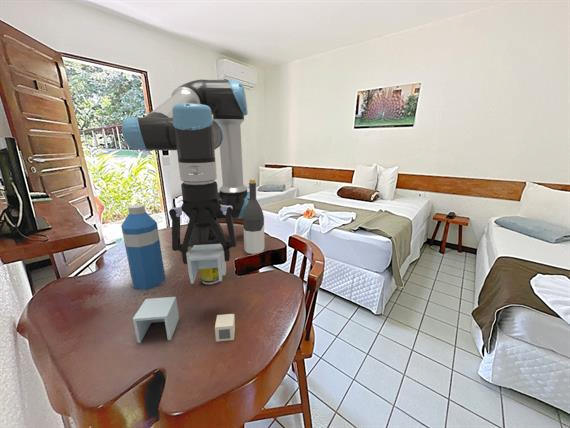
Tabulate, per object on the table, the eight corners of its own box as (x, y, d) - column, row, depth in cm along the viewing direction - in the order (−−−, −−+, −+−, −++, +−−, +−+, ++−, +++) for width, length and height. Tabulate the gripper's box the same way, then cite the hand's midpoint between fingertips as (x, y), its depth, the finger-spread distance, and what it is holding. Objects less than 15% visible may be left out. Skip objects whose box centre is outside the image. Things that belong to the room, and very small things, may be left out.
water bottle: (171, 277, 80) (161, 204, 73) (145, 293, 72) (131, 212, 65) (152, 271, 84) (140, 201, 77) (125, 285, 76) (109, 208, 69)
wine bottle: (245, 248, 102) (242, 177, 94) (265, 248, 102) (263, 177, 94) (243, 257, 94) (239, 180, 86) (264, 257, 95) (262, 180, 86)
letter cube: (218, 329, 59) (217, 315, 58) (235, 327, 59) (234, 313, 58) (215, 342, 55) (214, 327, 54) (234, 340, 55) (233, 326, 54)
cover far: (196, 268, 63) (193, 245, 61) (224, 266, 64) (222, 243, 62) (190, 283, 56) (187, 258, 54) (221, 281, 57) (219, 256, 55)
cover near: (149, 321, 61) (145, 298, 59) (179, 318, 62) (176, 296, 60) (137, 343, 54) (132, 318, 52) (170, 340, 55) (166, 316, 53)
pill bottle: (215, 286, 76) (213, 254, 72) (197, 284, 77) (194, 252, 74) (224, 276, 81) (222, 245, 78) (207, 274, 83) (204, 244, 79)
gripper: (143, 185, 48) (160, 285, 55) (245, 183, 51) (249, 278, 58) (156, 179, 55) (170, 268, 62) (245, 177, 58) (248, 263, 65)
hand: (208, 273), depth 60 cm, fingers closed on cover far, 7 cm apart
